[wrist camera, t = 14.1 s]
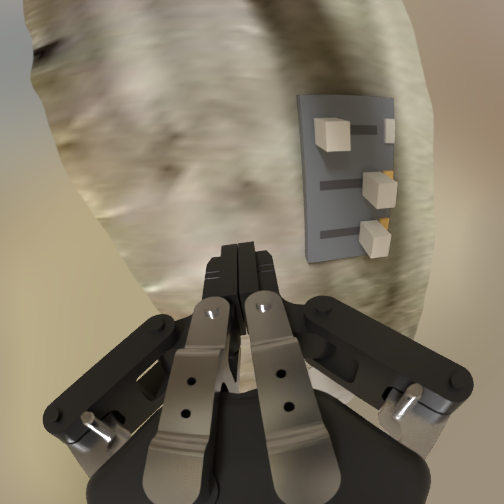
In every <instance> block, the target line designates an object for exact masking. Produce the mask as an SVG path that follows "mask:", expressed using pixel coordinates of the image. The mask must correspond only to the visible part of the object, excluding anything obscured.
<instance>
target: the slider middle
mask: <svg viewBox="0 0 504 504" xmlns="http://www.w3.org/2000/svg"><path fill="white" fill-rule="evenodd" d="M396 195H397V182H396V181H394V180H393V179H391V178H390V177H388V176H387V175H385V174H384V173H382V172H363V190H362V196H364V197H365V198H366V199H367V200H368V201H369V202H370V203H371V204H372V205H373V206H374V207H375V208H376V209H382V208H394V207H395V204H396Z"/></svg>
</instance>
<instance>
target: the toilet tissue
mask: <svg viewBox="0 0 504 504" xmlns="http://www.w3.org/2000/svg"><path fill="white" fill-rule="evenodd" d="M308 374H309V378H310V381H311V384H312V387H313V389H317V390H321V391H324V392H326V393H328V394H330V395H332V396H334V397H335V398H337V399H338V400H339V401H341V402H342V403H344V404H346V403H348V402H349V401H351V400H352V399H353V398H354V396H355V395H354V394H353V393H351V392H350V391H348V390H346V389H345V388H343V387H342V386H340V385H339V384H337V383H336V382H334V381H333V380H331V379H330V378H328V377H327V376H326V375H324V374H323V373H321V372H320V371H318V370H317V369H315V368H314V367H311V368H310V369H309V371H308Z"/></svg>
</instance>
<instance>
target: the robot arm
mask: <svg viewBox="0 0 504 504" xmlns="http://www.w3.org/2000/svg"><path fill="white" fill-rule="evenodd" d="M246 328H247V332H248V334H249V337H250V343H251V354H252V360H253V366H254V372H255V378H256V384H257V389H254V390H251V391H248V392H245V393H239V378H240V362H241V347H240V345H241V337H240V335H246ZM304 359H305V361H306V362H307V363H308V364H310V365H311V366H312V367H314V368H315V369H317V370H318V371H320V372H321V373H323V374H324V375H326V376H327V377H328V378H330V379H331V380H333V381H334V382H336V383H337V384H339V385H340V386H342V387H343V388H345V389H346V390H348V391H350V392H351V393H353V394H354V395H356V396H357V397H359V398H360V399H362V400H363V401H365V402H367V403H368V404H370V405H371V406H373V407H375V408H376V409H378V410H379V413H378V420H379V422H380V425H381V426H382V427H383V428H384V429H385V430H386V431H387V432H388V433H389V434H390V436H389V435H388V434H386V433H385V432H383V431H382V430H380V429H379V428H377V427H376V426H374V425H373V424H372V423H370V422H369V421H367V420H366V419H364V418H363V417H362V416H360V415H359V414H357V413H356V412H355V411H353V410H352V409H350V408H349V407H348V406H346V405H345V404H344V403H342V402H341V401H339V400H338V399H337V398H335V397H334V396H332V395H330V394H328V393H326V392H324V391H321V390H317V389H313V387H312V384H311V381H310V378H309V374H308V371H307V368H306V365H305V362H304ZM156 360H158V362H157V363H156V364H155V365H154V366H153V367H152V368H151V369H150V370H149V371H148V372H147V373H146V374H144V375H143V376H142V377H141V378H140V379H139V380H138V381H137V382H136V380H137V378H138V377H139V376H140V375H141V374H142V373H143V372H144V371H145V370H146V369H147V368H149V367H150V366H151V365H152V364H153V363H154V362H155V361H156ZM473 385H474V384H473V378H472V376H471V374H470V372H469V371H468V370H467V369H466V368H464V367H462V366H461V365H459V364H457V363H455V362H453V361H451V360H449V359H447V358H446V357H444V356H442V355H440V354H438V353H436V352H434V351H432V350H430V349H429V348H427V347H425V346H423V345H421V344H419V343H417V342H415V341H413V340H412V339H410V338H408V337H406V336H404V335H402V334H400V333H398V332H397V331H395V330H393V329H391V328H389V327H387V326H385V325H383V324H382V323H380V322H378V321H376V320H374V319H372V318H370V317H368V316H367V315H365V314H363V313H361V312H359V311H357V310H355V309H353V308H352V307H350V306H348V305H346V304H344V303H342V302H340V301H338V300H337V299H335V298H332V297H329V296H316V297H313V298H311V299H310V300H308V301H307V302H306V304H305V305H300V304H293V303H290V302H287V301H286V300H284V299H283V298H282V297H281V295H280V293H279V289H278V284H277V279H276V274H275V269H274V264H273V259H272V256H271V255H270V254H269V253H268V252H267V251H266V250H265V251H257V252H255V247H254V241H252V242H245V243H238V245H237V244H231V245H224V246H222V247H221V257H213V258H211V260H210V261H209V262H208V264H207V267H206V274H205V281H204V288H203V296H202V301H200V302H199V303H198V304H197V305H196V306H195V308H194V312H193V314H192V315H190V316H188V317H186V318H183V319H180V320H177V321H174V319H173V318H172V317H171V316H169V315H166V314H159V315H155V316H153V317H151V318H149V319H148V320H147V321H145V322H144V323H143V324H142V325H141V326H140V327H138V328H137V329H136V330H135V331H134V332H132V333H131V334H130V335H129V336H128V337H127V338H125V339H124V340H123V341H122V342H121V343H120V344H118V345H117V346H116V347H115V348H114V349H113V350H111V351H110V352H109V353H108V354H107V355H106V356H105V357H103V358H102V359H101V360H100V361H99V362H98V363H96V364H95V365H94V366H93V367H92V368H91V369H90V370H88V371H87V372H86V373H85V374H84V375H83V376H82V377H80V378H79V379H78V380H77V381H76V382H75V383H74V384H72V385H71V386H70V387H69V388H68V389H67V390H66V391H64V392H63V393H62V394H61V395H60V396H59V397H58V398H56V399H55V400H54V401H53V402H52V403H51V404H50V405H49V406H48V407H47V408H46V410H45V412H44V414H43V425H44V427H45V429H46V430H47V431H48V432H49V433H51V434H52V435H54V436H55V437H57V438H58V439H60V440H61V441H62V442H63V443H65V444H66V445H67V446H68V447H69V449H70V450H71V452H72V454H73V455H74V457H75V458H76V459H77V461H78V463H79V464H80V465H81V467H82V468H83V470H84V471H85V472H86V474H87V475H88V476H89V478H90V480H89V482H88V484H87V489H86V499H87V504H425V502H426V499H427V496H428V493H429V489H430V484H431V475H430V470H429V468H428V466H427V463H426V462H425V459H426V457H427V456H428V454H429V453H430V451H431V449H432V448H433V446H434V444H435V443H436V441H437V439H438V437H439V436H440V434H441V432H442V430H443V428H444V426H445V424H446V422H447V420H448V419H449V417H450V415H451V414H452V413H453V412H454V411H455V410H456V409H457V408H458V407H459V406H460V405H461V404H462V403H464V402H465V400H466V399H467V398H468V397H469V396H470V395H471V393H472V391H473ZM162 404H163V406H162V407H161V408H160V409H158V408H159V407H160V406H161V405H162ZM157 409H158V410H157ZM156 410H157V411H156ZM155 411H156V412H155ZM154 412H155V413H154ZM153 413H154V414H153ZM152 414H153V415H152ZM151 415H152V416H151ZM150 416H151V417H150ZM149 417H150V418H149ZM148 418H149V419H148ZM146 419H148V420H147V422H145V423H144V425H142V427H140V429H138V431H137V432H136V433H135V434H134V435H133V436H132V437H131V434H132V433H133V432H134V431H135V430H136V429H137V428H138V427H139V426H140V425H141V424H142V423H143V422H144V421H146Z"/></svg>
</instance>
